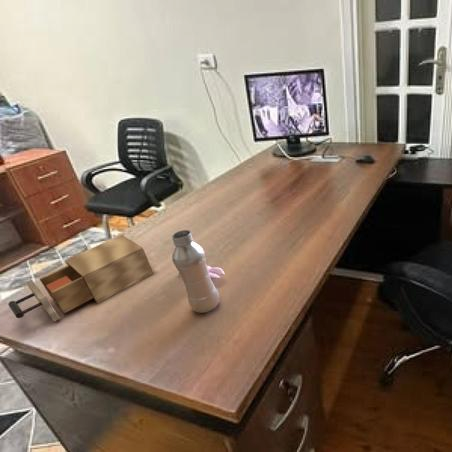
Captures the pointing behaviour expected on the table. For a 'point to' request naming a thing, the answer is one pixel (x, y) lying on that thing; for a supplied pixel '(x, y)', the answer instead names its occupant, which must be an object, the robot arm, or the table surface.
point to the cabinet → (111, 266)
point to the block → (58, 284)
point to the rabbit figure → (214, 272)
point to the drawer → (56, 293)
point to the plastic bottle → (194, 272)
